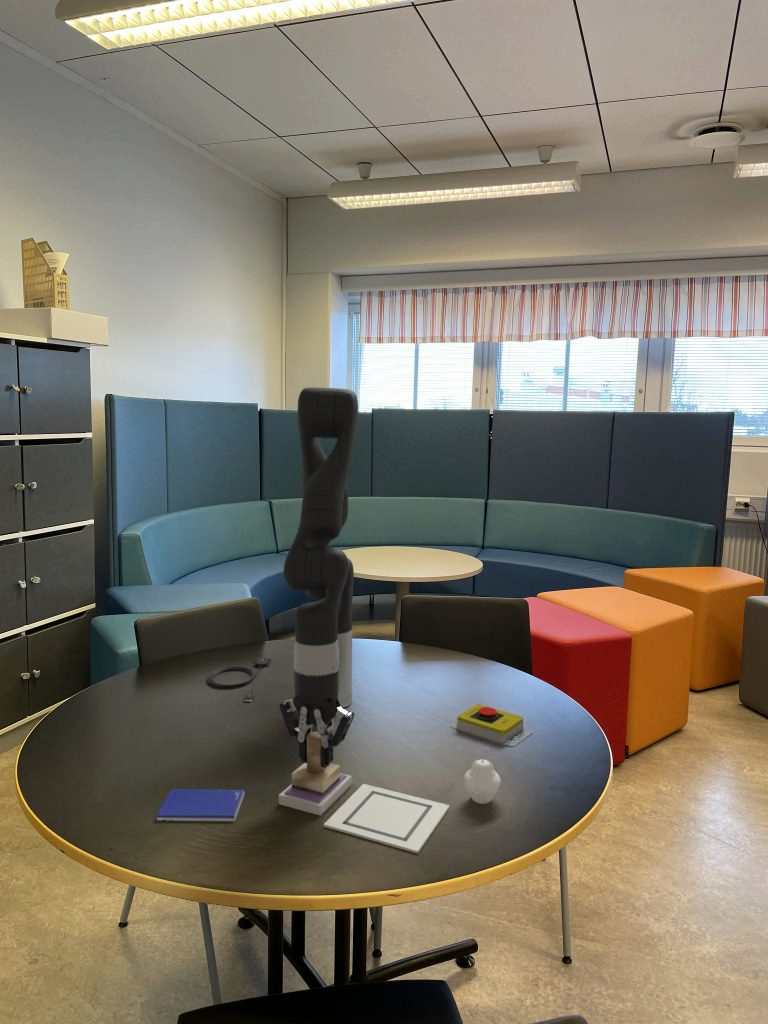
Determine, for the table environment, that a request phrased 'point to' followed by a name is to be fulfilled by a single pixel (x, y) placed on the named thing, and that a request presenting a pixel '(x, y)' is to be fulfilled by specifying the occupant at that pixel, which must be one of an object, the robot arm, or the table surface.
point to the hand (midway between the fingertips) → (316, 762)
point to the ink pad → (314, 797)
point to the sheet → (388, 817)
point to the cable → (249, 697)
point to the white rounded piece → (482, 781)
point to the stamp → (315, 770)
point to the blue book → (201, 805)
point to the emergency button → (491, 724)
